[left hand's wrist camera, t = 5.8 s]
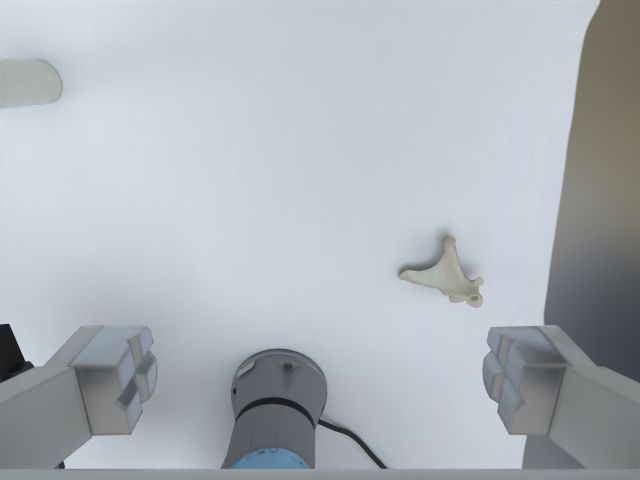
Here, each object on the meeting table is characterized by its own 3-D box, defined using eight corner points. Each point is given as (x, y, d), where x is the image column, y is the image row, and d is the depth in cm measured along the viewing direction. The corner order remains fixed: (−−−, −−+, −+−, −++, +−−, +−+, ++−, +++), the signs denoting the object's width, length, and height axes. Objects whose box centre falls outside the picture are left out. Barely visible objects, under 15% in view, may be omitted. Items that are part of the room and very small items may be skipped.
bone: (447, 237, 55) (476, 312, 54) (469, 228, 60) (497, 297, 59) (386, 258, 62) (411, 324, 62) (411, 249, 67) (434, 310, 66)
